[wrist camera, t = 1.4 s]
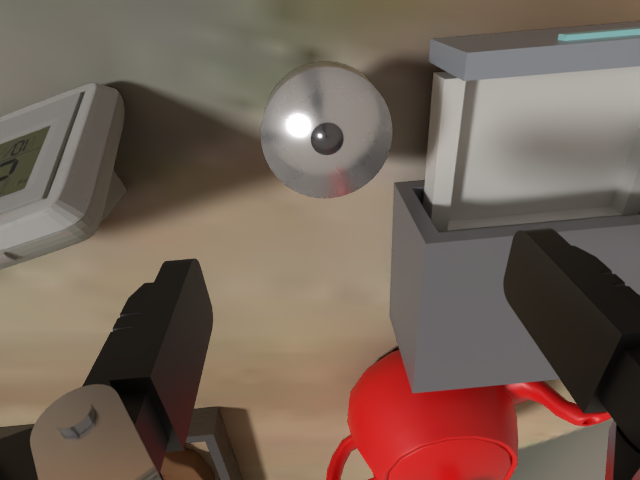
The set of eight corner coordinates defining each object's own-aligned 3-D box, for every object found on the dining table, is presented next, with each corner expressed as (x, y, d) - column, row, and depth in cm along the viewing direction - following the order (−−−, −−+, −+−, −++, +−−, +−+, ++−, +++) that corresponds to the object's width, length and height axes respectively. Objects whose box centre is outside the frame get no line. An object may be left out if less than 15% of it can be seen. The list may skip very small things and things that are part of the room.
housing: (394, 182, 29) (425, 243, 22) (641, 161, 29) (748, 214, 22) (389, 316, 36) (412, 393, 29) (588, 297, 36) (657, 369, 29)
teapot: (358, 453, 47) (377, 582, 37) (281, 386, 40) (277, 524, 30) (566, 368, 41) (658, 494, 31) (521, 269, 34) (621, 393, 23)
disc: (254, 66, 19) (250, 74, 17) (385, 55, 19) (395, 62, 18) (271, 187, 23) (270, 203, 21) (383, 177, 23) (390, 193, 21)
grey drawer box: (430, 33, 22) (467, 46, 18) (693, 11, 23) (799, 18, 18) (416, 231, 29) (440, 277, 25) (616, 213, 30) (677, 256, 25)
